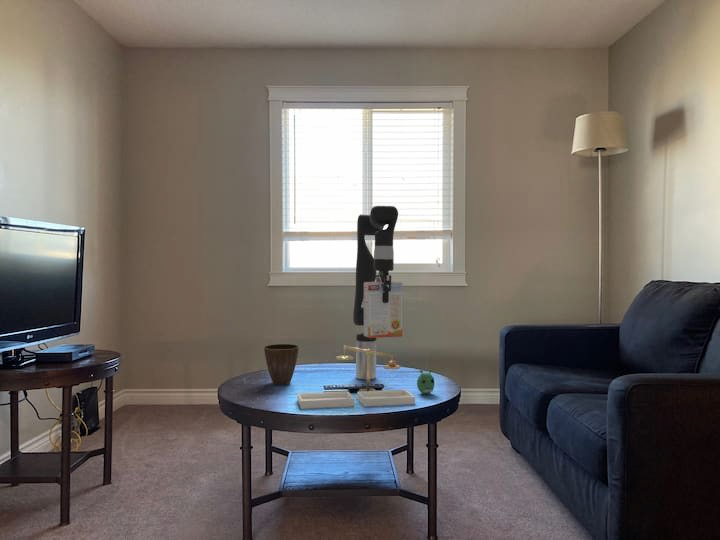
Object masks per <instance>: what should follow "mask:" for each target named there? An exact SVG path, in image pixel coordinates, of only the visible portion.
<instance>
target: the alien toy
mask: <svg viewBox="0 0 720 540" xmlns="http://www.w3.org/2000/svg"><path fill="white" fill-rule="evenodd" d="M428 370H429V372H424V370H423V369H420V370H419V371H418V372H419V373H421V374H419V376H418V377H417V380H416V386H417V389H418V391H419V393H421V394H423V395H428V394H431V393H432V392H433V391H434V388H435V378H434V376H433V375H432V374H431V373H432V372H433V371H434V370H433V369H431V368H429V369H428Z"/></svg>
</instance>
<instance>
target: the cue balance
mask: <svg viewBox="0 0 720 540" xmlns="http://www.w3.org/2000/svg"><path fill="white" fill-rule="evenodd" d="M342 348H343V355H337V356H335V360H336V361H337V360H338V361H352V360H354V356H351V355H346V350H349V351H353V352H356V351H359V352H364V353H366V354H367V379H366V388H358V389H359V390H358V392H359V391H377V390H376V389H375V388H374V387H373V388H372V387H371V379H370V354H375V355H376V356H380V357H386V358H391V360H388V361H387V362H388V363H387V364H384V365H383V366H382V367H383V369H386V370H399V369H401V368H402V367H401V365H399V364H396V363H397V361H396V360H393V359H394V355H393V354H389V353H385V352H380V351H376V352H375V351H371V349H367V350H365V349H360V348H356V347H354V346H349V345H343V346H342Z"/></svg>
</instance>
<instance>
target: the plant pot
mask: <svg viewBox="0 0 720 540" xmlns="http://www.w3.org/2000/svg"><path fill="white" fill-rule="evenodd" d="M299 348H300V347H299V345H297V344H290V343H286V344H285V343H280V344H278V343H277V344H269V345H266V346H265V345H264V347H263V350H264V351H263V352H264V356H265V362H266V366H267V370H268V373H269V376H270V378H271V382H272V384H273V385H275V386H285V385H289V384H291V382H292V379H293V376H294V372H295V370H296V366H297V362H298V354H299Z"/></svg>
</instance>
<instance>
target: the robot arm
mask: <svg viewBox="0 0 720 540" xmlns="http://www.w3.org/2000/svg"><path fill="white" fill-rule="evenodd" d="M398 218H399V211H398V209H397V207H396V206H395V205H374V206H372V207H371V210H370V214H367V213H363V214H359V215H358V217H357V221H356V226H357V228H356V232H357V233H356V234H357V237H356V238H357V239H356V240H357V242H356V243H357V245H356V246H357V249H356V251H357V253H356V265H355V266H356V267H355V293H354V306H353V317H352V319H353V323H354V325H355V326H363V327H364V304H363V303H364V282H381V287H382V292H383V299H382V302H383V303H388V302H389V292H390V291H391V282H392V274H391V275H390V274H389V271H391V272H393V271H394V268H395V267H394V264H395V263H394V262H395V261H394V260H395V259H394V258H395V257H394V255H395V253H394V233H395V228H396V224H397V222H398ZM386 225H387V227H386V228H385V226H386ZM365 236H374V249H373V254H372V253H371V251H370V249H369V247H368V246H367V243H366V237H365ZM377 272H378V274H377ZM382 282H383V283H384V284H383V283H382ZM386 287H387V288H386ZM355 336H356V337H355V340H356V341H355V344H356V347H355V348H360V349H365V350H367V349H371V351H375V352H377V338H368V337H365V336H364V330H363V331H361V332H358V333H357V334H356V335H355ZM355 355H356V356H355V361H356V362H355V379H358V380H367V354H366V353H364V352H359V351H355ZM376 378H377V355H375V354H370V380H374V379H376Z"/></svg>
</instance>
